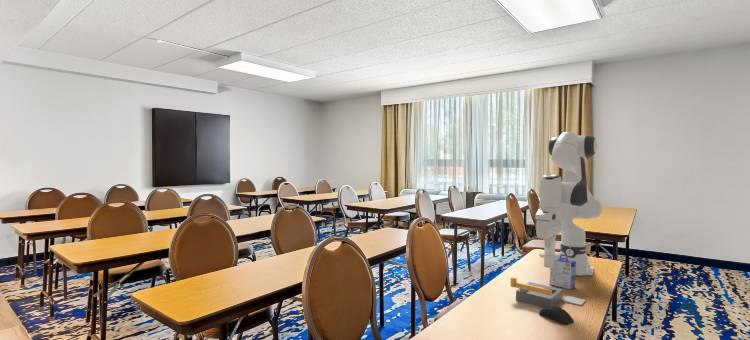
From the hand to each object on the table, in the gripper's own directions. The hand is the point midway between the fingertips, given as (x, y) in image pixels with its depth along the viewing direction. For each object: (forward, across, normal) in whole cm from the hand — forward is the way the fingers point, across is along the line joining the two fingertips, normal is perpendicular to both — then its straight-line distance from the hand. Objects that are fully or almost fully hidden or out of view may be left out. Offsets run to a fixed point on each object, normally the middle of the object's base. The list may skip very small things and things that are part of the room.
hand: (549, 246), depth 160 cm
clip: (+18, +9, -4) cm, 20 cm away
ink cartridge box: (+23, -23, -1) cm, 32 cm away
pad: (+23, -6, +8) cm, 25 cm away
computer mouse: (+23, +17, +8) cm, 30 cm away
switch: (+23, +2, -3) cm, 23 cm away
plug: (+9, 0, 0) cm, 9 cm away
